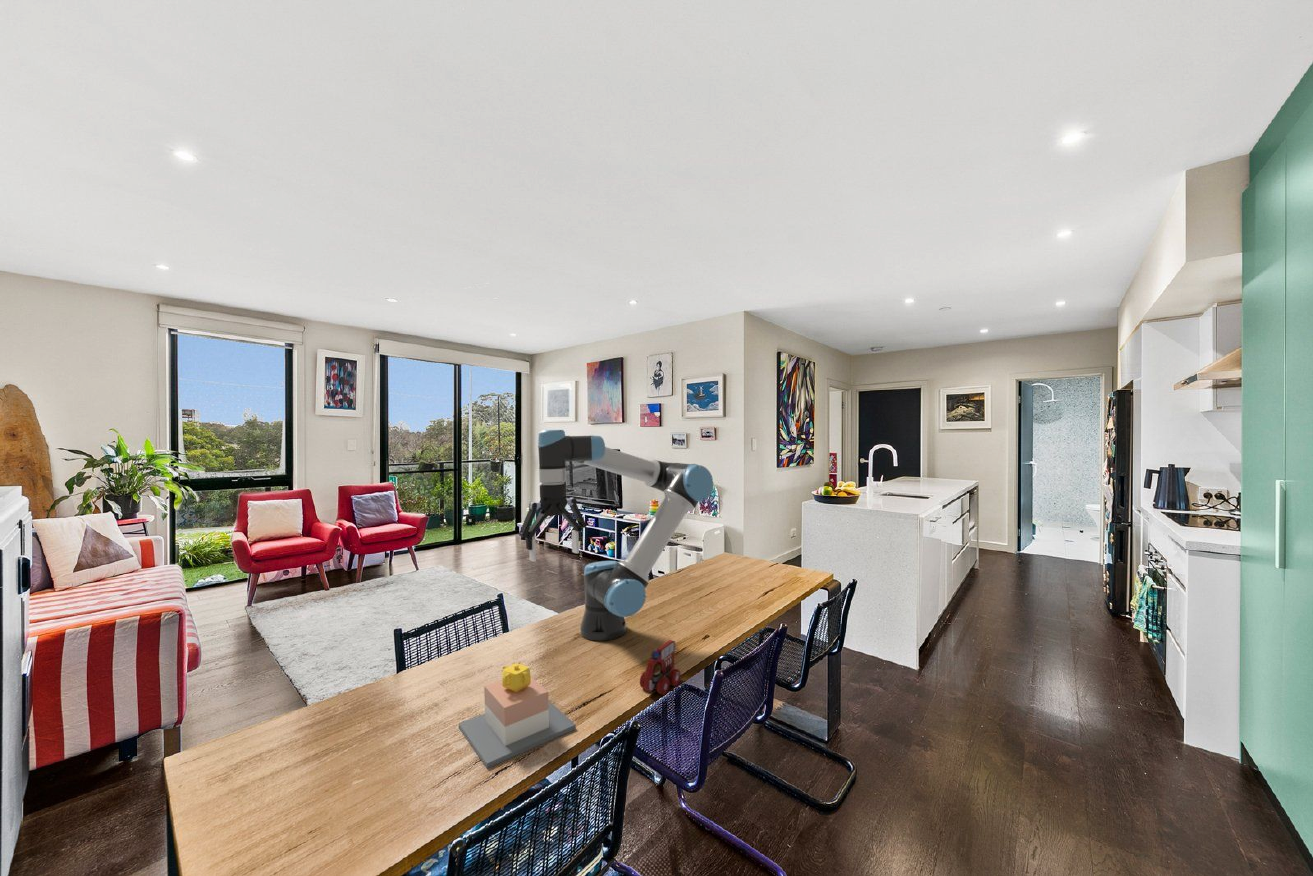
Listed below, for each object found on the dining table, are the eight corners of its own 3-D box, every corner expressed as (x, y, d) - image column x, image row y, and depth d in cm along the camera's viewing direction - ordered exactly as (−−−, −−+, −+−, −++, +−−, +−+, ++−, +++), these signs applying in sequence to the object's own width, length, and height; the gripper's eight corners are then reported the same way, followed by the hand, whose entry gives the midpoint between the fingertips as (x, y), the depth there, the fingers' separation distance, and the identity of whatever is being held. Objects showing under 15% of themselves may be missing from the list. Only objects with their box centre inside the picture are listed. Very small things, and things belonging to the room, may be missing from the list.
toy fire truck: (635, 693, 126) (634, 652, 125) (663, 673, 136) (662, 635, 135) (657, 701, 121) (656, 659, 121) (684, 680, 132) (683, 641, 131)
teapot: (491, 690, 111) (491, 667, 111) (512, 679, 116) (511, 657, 116) (515, 700, 107) (515, 676, 107) (536, 688, 112) (535, 665, 111)
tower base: (540, 696, 125) (539, 661, 125) (575, 729, 111) (574, 689, 111) (458, 727, 112) (457, 688, 112) (486, 768, 98) (485, 723, 98)
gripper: (583, 479, 153) (585, 547, 154) (505, 486, 138) (507, 562, 138) (596, 480, 147) (598, 551, 148) (516, 488, 132) (518, 567, 132)
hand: (554, 556), depth 143 cm, fingers open, 13 cm apart
